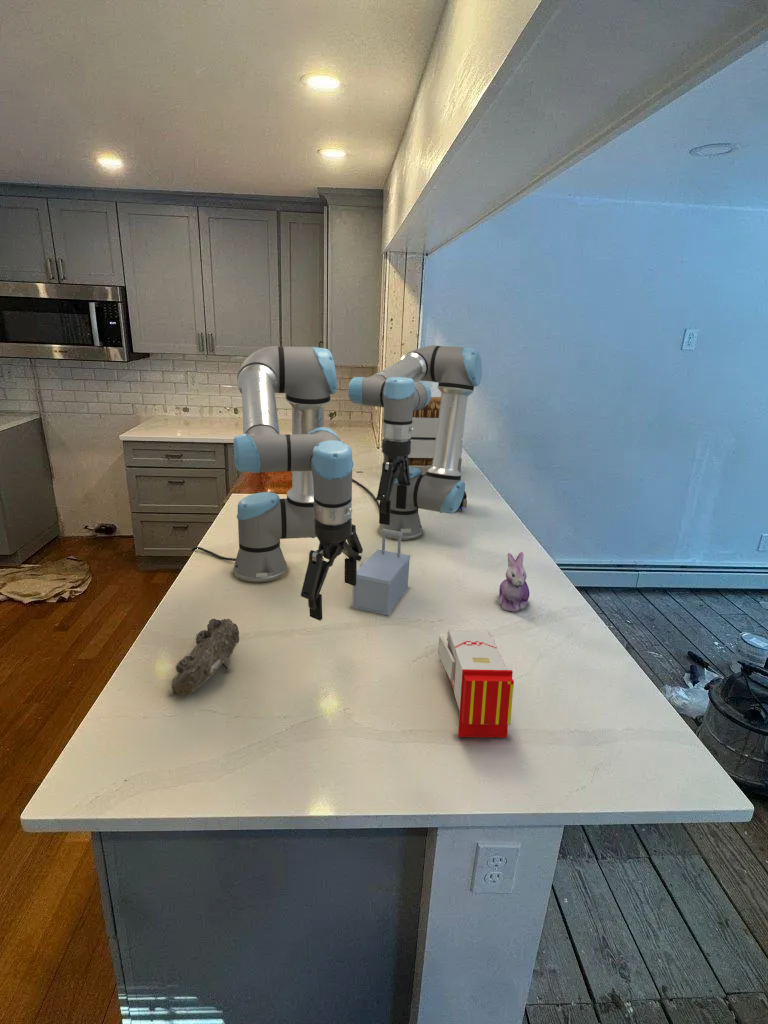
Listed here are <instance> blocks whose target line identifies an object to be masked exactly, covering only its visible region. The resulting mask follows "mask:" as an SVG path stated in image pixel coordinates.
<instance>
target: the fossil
mask: <svg viewBox="0 0 768 1024" xmlns="http://www.w3.org/2000/svg"><path fill="white" fill-rule="evenodd" d="M206 626H207V627H206V629H203V630H200V631H199V632H197V634H196V637H195V644H196V645H195V646H194V648H193V650H192V651H191V653H190V655H185V656H184V657H183V658H181V659H180V660H179V661H178V662H177V664H176V666H175V670H176V672H177V675H176V676H175V677H174V678H173V679H172V680H171V682H172V683H171V690H172V691H171V692H172V693H174V694H177V695H179V696H184V695H186V694H193V693H194V692H195V691H197V690H198V688H200V687H201V686H203V685H204V684H205V683H206V682H207V681H208V680H209V679H210V678H211V677H212V676H213V675H215V674H216V672H217V670H218V669H219V668H220V667H221V666H223V668H224V669H225V670H227V671H228V670H229V669H230V668H229V666H227V664H225V660H226V659H227V658H230V656H231V655H232V654H233V652H234V649H235V647H236V646H237V644H238V643H239V642H240V631H239V626H238V625H237V624H236V623H235V622H233V620H231V619H230V618H223V619H221V620H220V619H216V618H211V619H209V620H208V623H207V625H206Z"/></svg>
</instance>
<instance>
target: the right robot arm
mask: <svg viewBox="0 0 768 1024" xmlns="http://www.w3.org/2000/svg"><path fill="white" fill-rule="evenodd" d="M482 373H483V365H482V359H481V354H480V352H479V351H478V350H477V349H476V348H471V347H466V346H448V345H447V346H446V345H427V346H423V347H419V348H416V349H414V350H411V351H409V352H407V353H405V354H404V355H402V356H401V358H400V359H399V361H396V362H394V363H393V364H391V365H389V366H387V367H386V368H384V369H381V370H380V371H378V372H377V373H375V374H372V375H371V376H368V377H364V376H354V377H353V378H351V380H350V381H349V384H348V388H347V389H348V391H347V392H348V398H349V401H350V402H351V403H352V404H354V405H361V406H368V407H376V408H383V418H382V432H381V433H382V435H381V436H382V437H383V439H382V440H381V453H382V454H383V455H384V454H385V455H387V456H388V461H387V462H384V461H383V462H382V468H381V474H380V480H379V484H378V489H377V493H376V494H377V495H376V497H375V495H374V494H373V492H371V491H370V490H369V489H368V488H367V486H364V485H363V484H362V483H360V482H358V481H357V480H356V479H354V478H352V483H355V484H357V485H358V486H360V487H361V488H363V490H365V491H366V492H367V493H368V494H369V495H370V496H371V497H372V498H373V500H374V502H375V503H376V505H377V508H378V510H379V511H378V512H379V515H378V524H379V527H378V533H379V534H380V535H381V536H382V535H383V534H382V529H388V530H394V531H400V532H402V537H401V541H410V540H415V539H418V538H420V537H421V536H422V535H423V525H422V524H421V518H420V515H419V509H420V510H424V511H425V510H426V511H430V512H438V513H440V514H449V515H450V514H451V515H452V514H454V513H456V512H457V511H458V508H459V506H460V504H461V502H462V499H463V496H464V492H466V482H465V481H464V480H463V479H462V473H461V474H460V472H459V471H458V461H459V455H460V448H461V441H463V438H462V434H463V435H464V432H463V427H464V428H465V421H464V420H465V419H466V412H467V405H468V400H469V399H468V398H469V396H470V395H472V394H473V393H474V389H475V387H478V386H480V384H481V380H482ZM426 382H432V383H438V384H437V390H438V391H440V393H442V396H441V395H440V397H441V403H440V411H439V418H438V425H437V433H436V440H435V447H434V455H433V462H432V465H430V466H429V468H428V469H427V470H426V473H425V474H422V470H421V468H419V467H416V466H409V465H408V455H409V454H410V453H411V441H410V440H409V439H410V438H411V433H412V431H414V428H412V419H413V411H416V410H419V409H422V408H424V407H425V406H426V405H427V404H428V403H429V401H430V399H431V397H432V391H431V388H430V387H429V385H428V384H427V383H426ZM459 509H460V508H459ZM385 538H387V539H389V540H395V541H398V537H396V536H391V535H386V537H385Z"/></svg>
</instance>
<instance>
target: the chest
mask: <svg viewBox="0 0 768 1024" xmlns="http://www.w3.org/2000/svg"><path fill="white" fill-rule="evenodd" d="M410 560H411V559H410ZM410 560H409V561H408V562H407V564H406V565H405V566H404V567H403V568H402V570H401V571H400V572H399V573H398V575H397V576H396V577H395V578H394V580H393V581H392V582H391V583H390V585H387V584H382V583H377V582H372V581H368V580H363V579H358V578H356V585H355V586H352V609H356V610H360V611H365V612H370V613H374V614H378V615H384V616H389V615H390V613H391V612H392V610H393V609H394V608H395V607H396V605H398V603H399V601H400V600H401V599H402V597H403V595H404V594H405V592H406V591H408V588H409V575H410Z"/></svg>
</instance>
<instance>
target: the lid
mask: <svg viewBox="0 0 768 1024" xmlns="http://www.w3.org/2000/svg"><path fill="white" fill-rule="evenodd" d="M382 534H383V535H381V536H382V538H381V549H376V550H375V551H374V552H373V553H372V554H371V555H370V557H368V558H367V559H366V561H365V562H364V563H362V564H361V565H360V567H359V568H357V572H356V578H358V579H363V580H368V581H372V582H377V583H382V584H387V585H390V583H391V582H392V581H393V580H394V578H395V577H396V576H397V575H398V573H399V572H400V571H401V570H402V568H403V567H404V566H405V565H406V564H407V562H408V561H409V560H411V555H410V554H404V553H402V552H401V550H402V540H401V537H402V532H400V531H394V530H388V529H382ZM386 535H391V536H396V537H398V540H397V552H394V551H389V550H386V538H387V537H386Z"/></svg>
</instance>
